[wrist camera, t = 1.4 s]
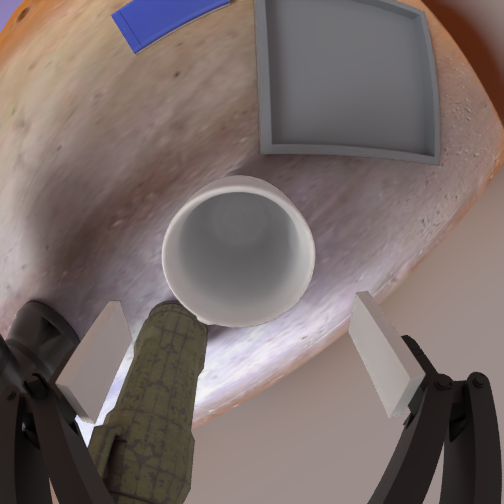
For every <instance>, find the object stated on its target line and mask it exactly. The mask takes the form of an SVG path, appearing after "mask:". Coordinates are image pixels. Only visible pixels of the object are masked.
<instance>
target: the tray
mask: <svg viewBox="0 0 504 504" xmlns="http://www.w3.org/2000/svg"><path fill="white" fill-rule="evenodd" d="M253 3H254V23H255V44H256V67H257V92H258V120H259V150H260V154H320V155H343V156H359V157H372V158H383V159H393V160H402V161H410V162H418V163H425V164H432V165H438V166H440V108H439V94H438V83H437V75H436V67H435V60H434V54H433V48H432V43H431V38H430V33H429V29H428V24H427V20H426V16H425V12H423V11H421V10H419V9H416V8H414V7H411V6H409V5H406V4H404V3H401V2H398V1H395V0H253Z"/></svg>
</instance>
